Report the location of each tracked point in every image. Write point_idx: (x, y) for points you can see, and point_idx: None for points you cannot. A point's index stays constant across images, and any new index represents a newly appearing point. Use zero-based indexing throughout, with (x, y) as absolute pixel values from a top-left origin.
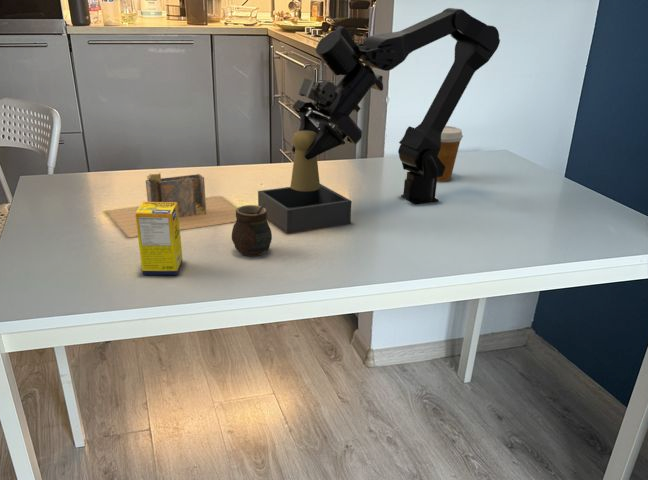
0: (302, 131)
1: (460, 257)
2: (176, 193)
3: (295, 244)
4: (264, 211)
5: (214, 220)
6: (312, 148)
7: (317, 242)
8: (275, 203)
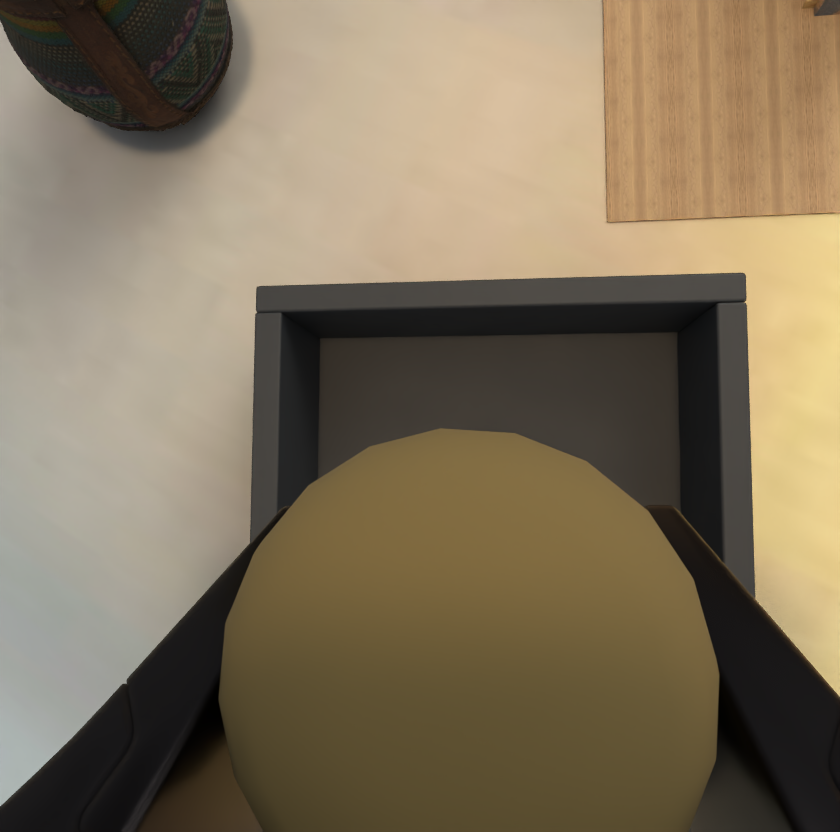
0: (483, 650)
1: None
2: None
3: (159, 296)
4: None
5: (671, 27)
6: (196, 609)
7: (134, 412)
8: (434, 283)
